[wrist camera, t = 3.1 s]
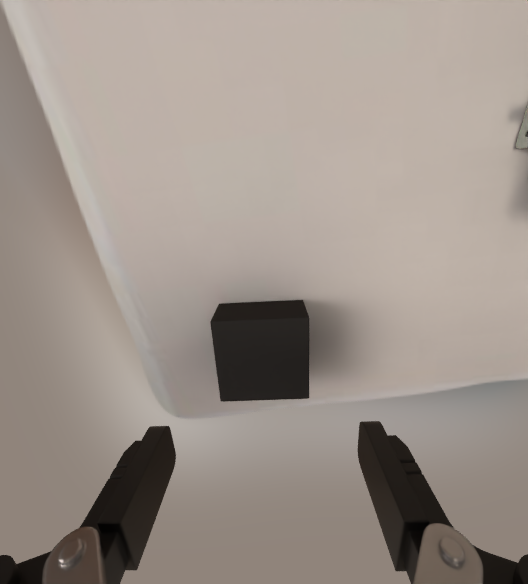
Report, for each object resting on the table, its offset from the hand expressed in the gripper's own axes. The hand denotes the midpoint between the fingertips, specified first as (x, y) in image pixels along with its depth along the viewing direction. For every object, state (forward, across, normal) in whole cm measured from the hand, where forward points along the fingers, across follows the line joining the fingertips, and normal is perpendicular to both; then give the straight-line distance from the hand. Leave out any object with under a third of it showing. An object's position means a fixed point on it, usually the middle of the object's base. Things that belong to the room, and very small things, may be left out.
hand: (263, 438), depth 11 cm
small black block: (+9, 0, 0) cm, 9 cm away
